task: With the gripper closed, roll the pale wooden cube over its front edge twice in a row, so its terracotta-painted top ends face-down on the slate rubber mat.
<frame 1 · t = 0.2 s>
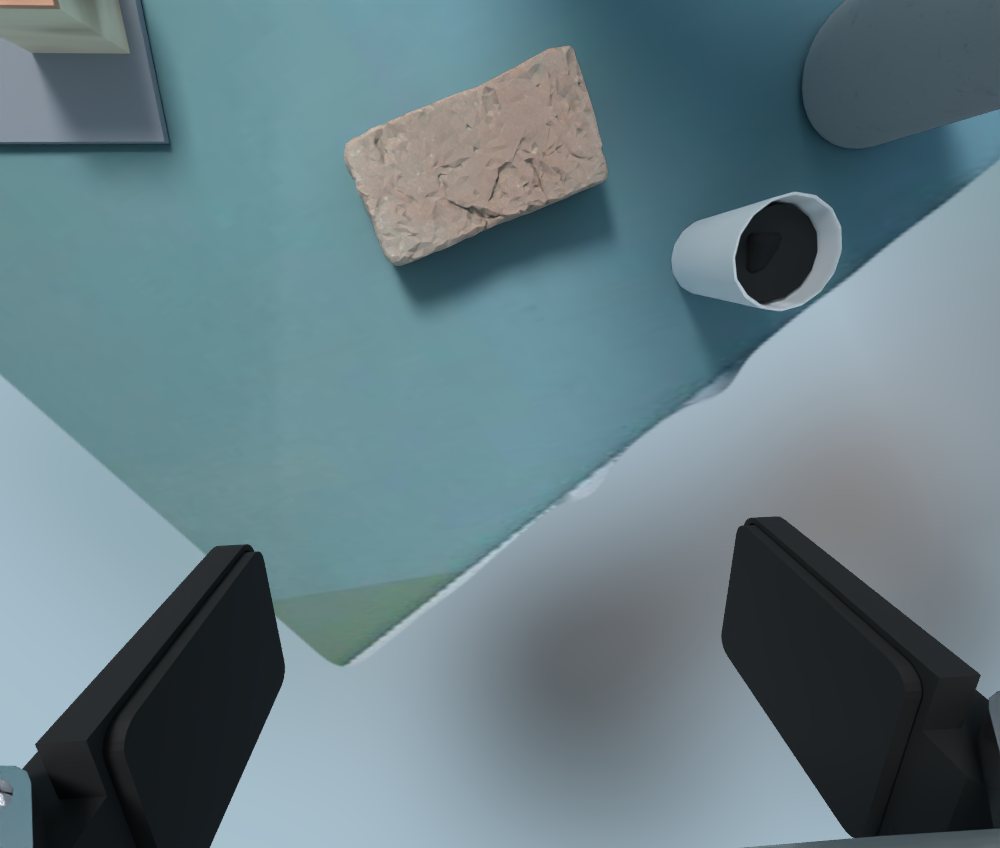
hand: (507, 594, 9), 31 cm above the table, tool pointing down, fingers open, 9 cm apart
water bottle: (859, 79, 35), on the table
white cup: (705, 257, 38), on the table
brick: (475, 174, 35), on the table
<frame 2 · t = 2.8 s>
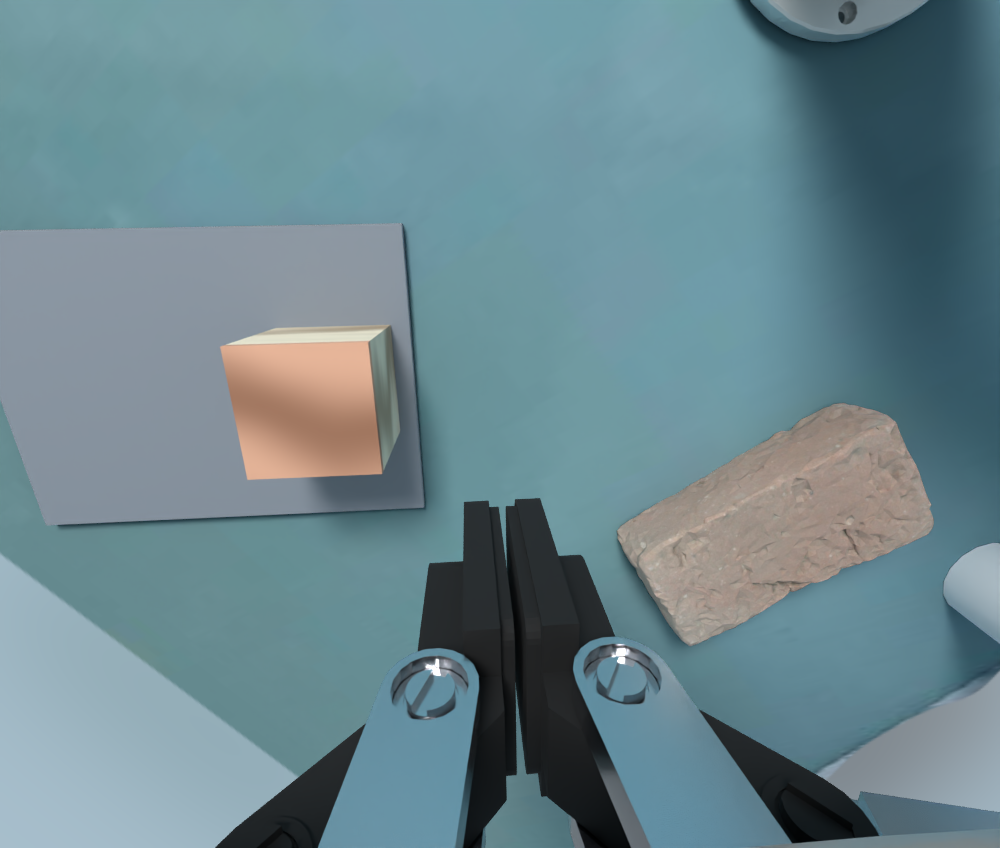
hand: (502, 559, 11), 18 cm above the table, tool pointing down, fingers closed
mat: (215, 383, 27), on the table
cube: (340, 381, 27), point 1 cm above the table, touching mat
white cup: (980, 576, 34), on the table
brick: (743, 508, 32), on the table
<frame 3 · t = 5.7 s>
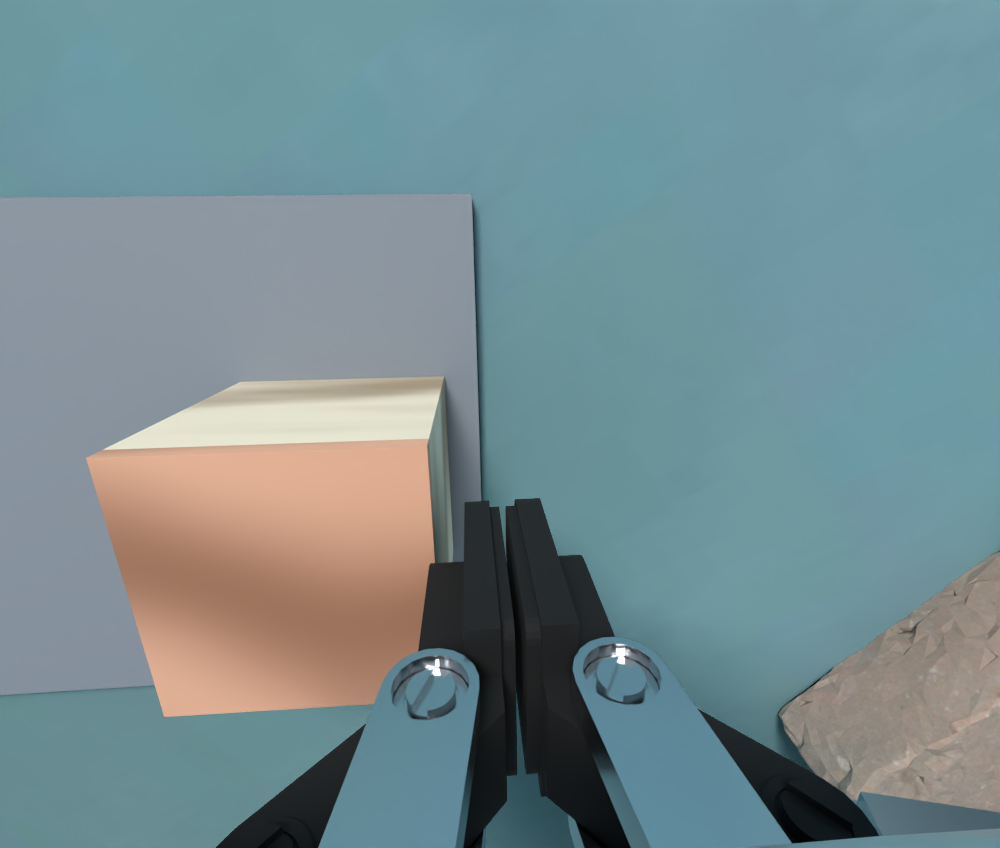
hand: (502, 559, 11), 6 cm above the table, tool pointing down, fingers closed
mat: (137, 472, 15), on the table
cube: (354, 471, 15), point 1 cm above the table, touching gripper, mat
brick: (965, 642, 21), on the table
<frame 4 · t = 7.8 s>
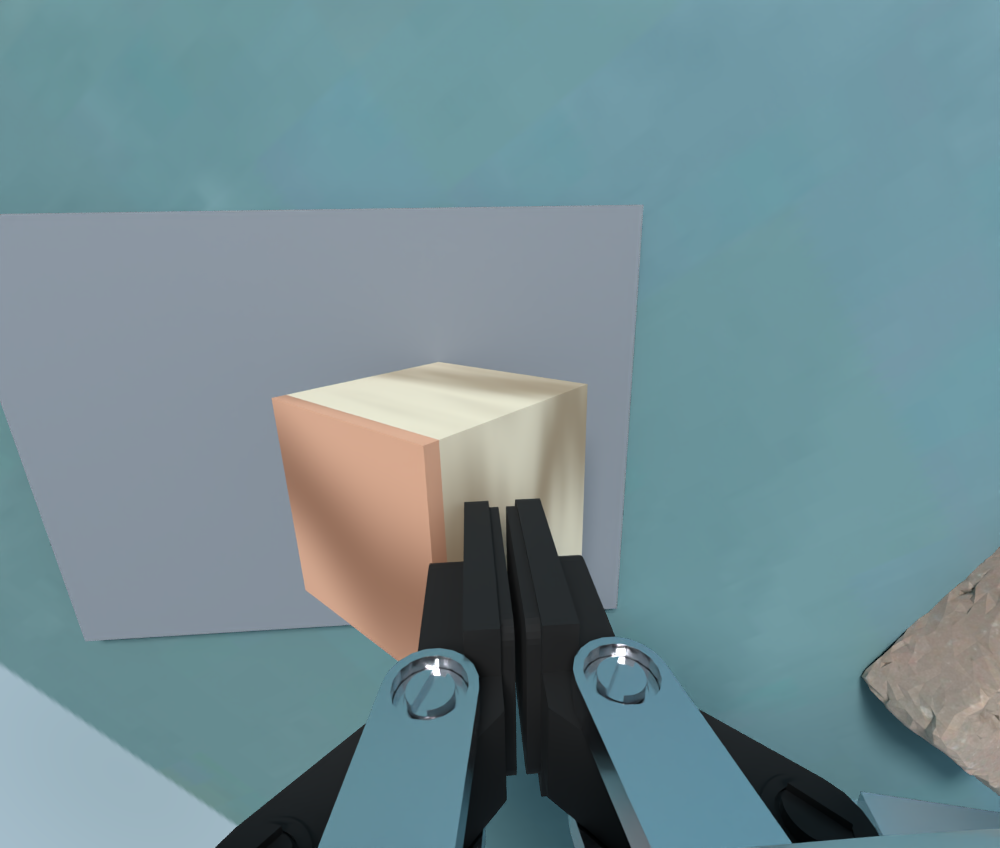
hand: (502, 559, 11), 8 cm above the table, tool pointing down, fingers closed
mat: (339, 440, 18), on the table
cube: (505, 459, 16), point 3 cm above the table, tilted 44°, touching gripper, mat
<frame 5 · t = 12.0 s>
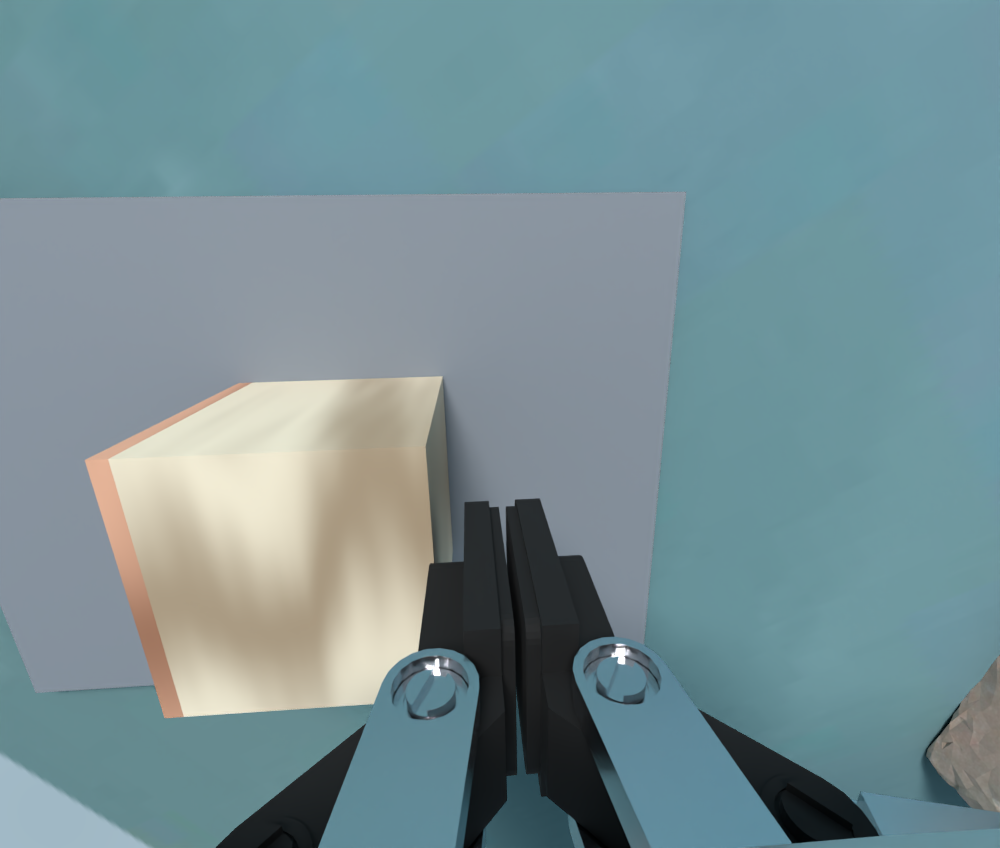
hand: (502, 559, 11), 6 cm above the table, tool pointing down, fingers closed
mat: (326, 465, 16), on the table
cube: (443, 513, 13), point 4 cm above the table, tilted 90°, touching gripper, mat
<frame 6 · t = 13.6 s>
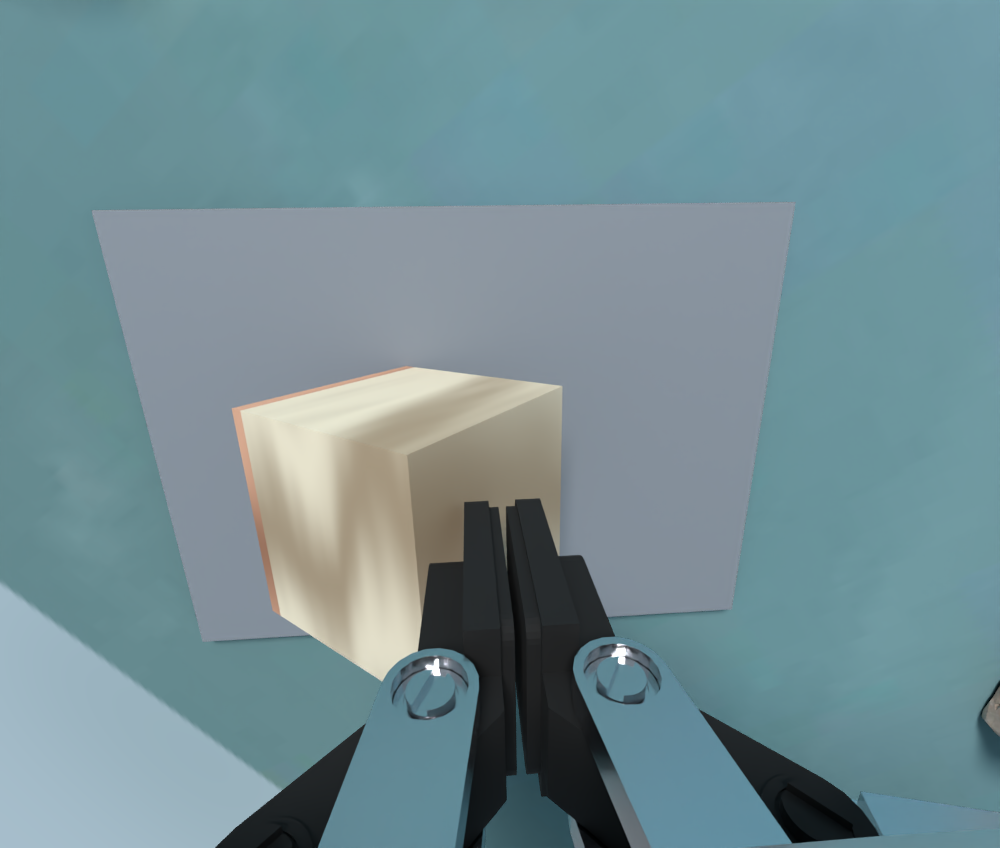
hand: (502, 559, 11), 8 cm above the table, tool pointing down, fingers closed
mat: (467, 439, 18), on the table
cube: (504, 529, 12), point 7 cm above the table, tilted 128°, touching gripper, mat
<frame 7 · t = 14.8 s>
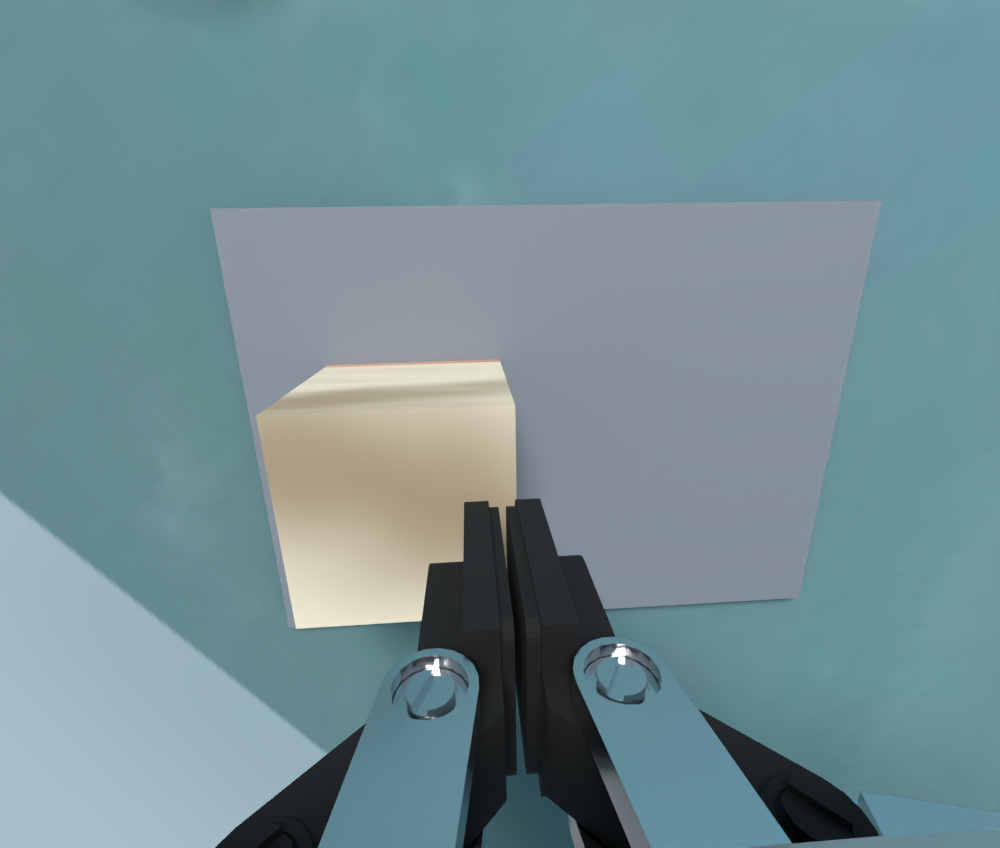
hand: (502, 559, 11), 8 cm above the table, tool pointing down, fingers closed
mat: (551, 431, 19), on the table
cube: (398, 524, 12), point 7 cm above the table, tilted 180°, touching mat
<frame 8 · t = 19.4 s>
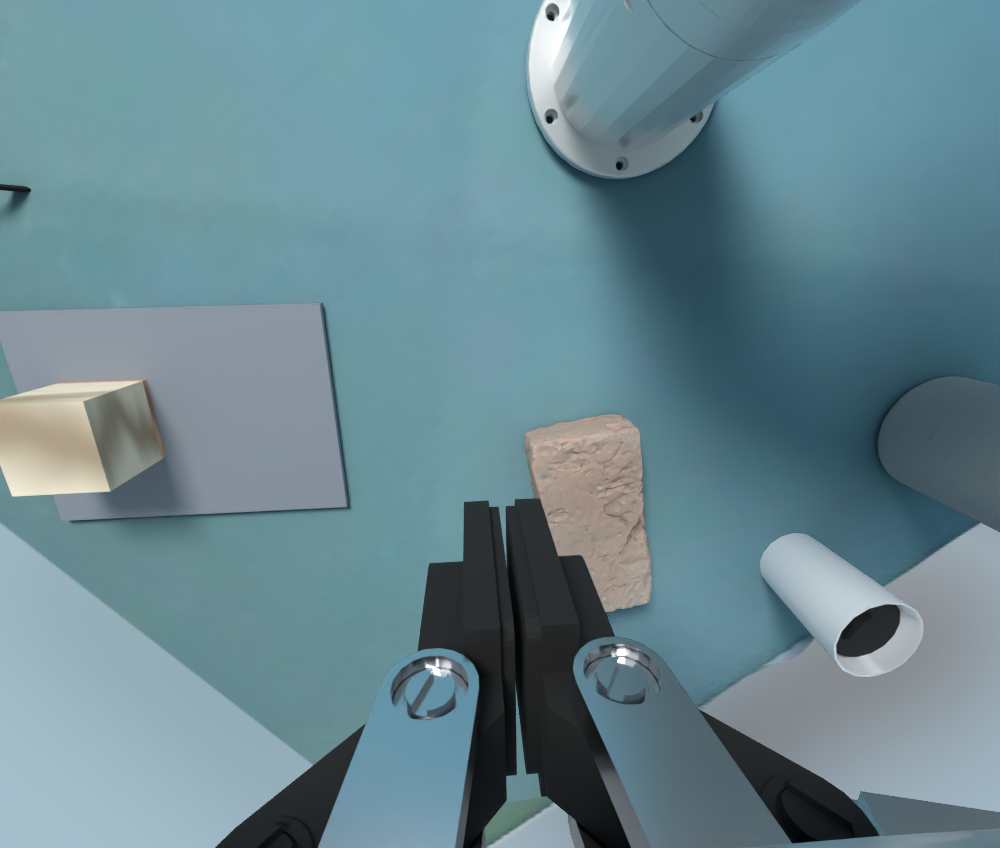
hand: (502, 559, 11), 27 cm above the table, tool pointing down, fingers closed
water bottle: (925, 431, 41), on the table
mat: (188, 415, 36), on the table
cube: (46, 450, 30), point 7 cm above the table, tilted 180°, touching mat
white cup: (788, 559, 44), on the table
brick: (584, 505, 42), on the table
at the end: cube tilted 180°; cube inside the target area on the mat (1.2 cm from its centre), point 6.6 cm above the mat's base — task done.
